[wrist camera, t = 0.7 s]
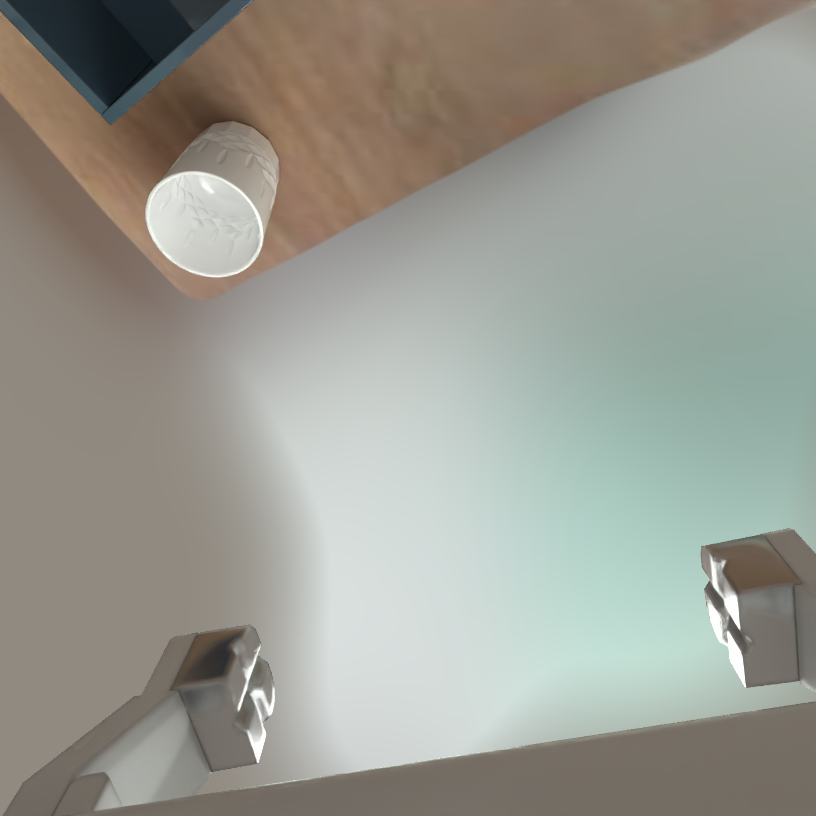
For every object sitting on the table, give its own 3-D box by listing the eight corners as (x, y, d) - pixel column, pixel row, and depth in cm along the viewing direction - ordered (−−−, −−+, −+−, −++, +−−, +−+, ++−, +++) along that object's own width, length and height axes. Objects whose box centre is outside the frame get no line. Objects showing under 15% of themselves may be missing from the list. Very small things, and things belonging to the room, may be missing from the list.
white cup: (239, 91, 55) (205, 148, 47) (308, 178, 59) (286, 243, 52) (163, 149, 58) (120, 211, 51) (234, 227, 62) (203, 295, 55)
